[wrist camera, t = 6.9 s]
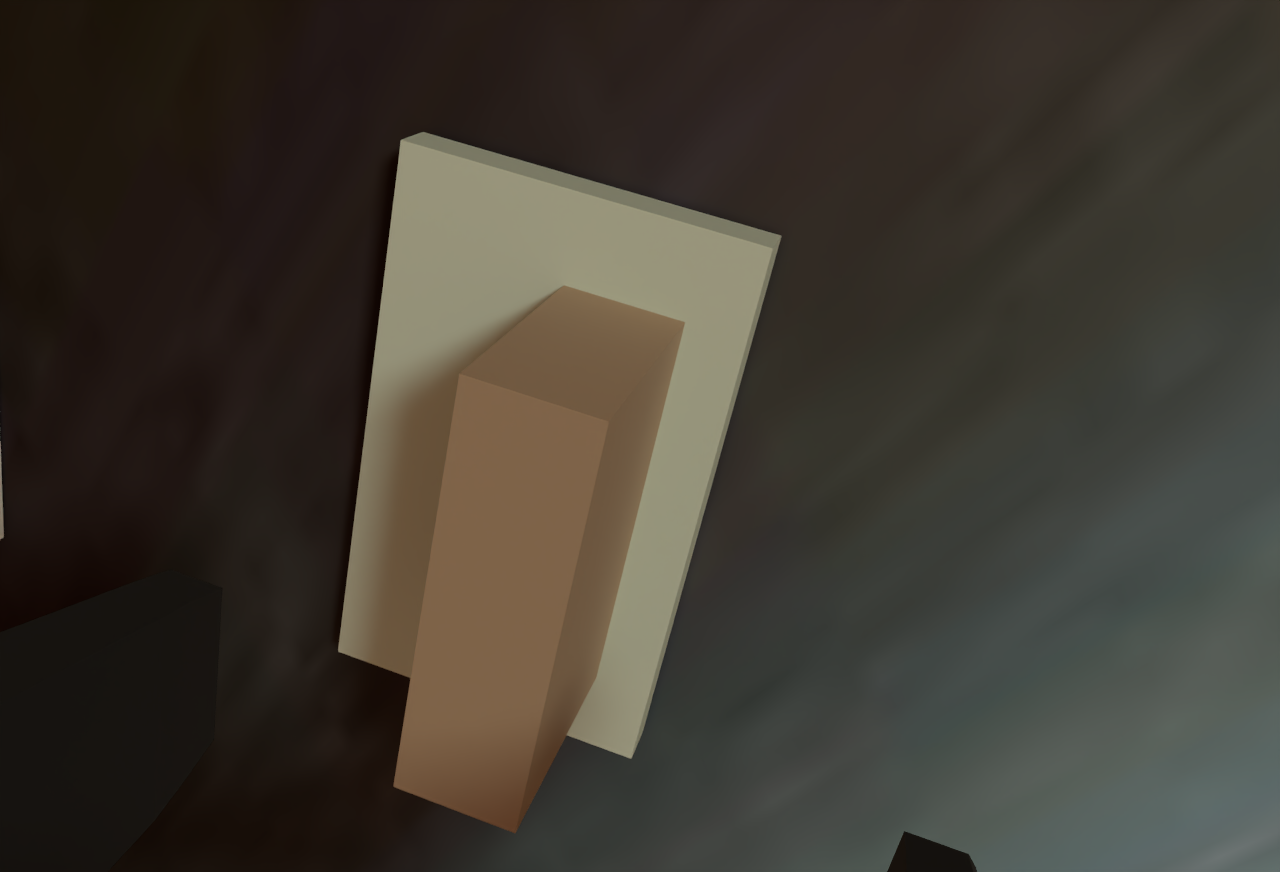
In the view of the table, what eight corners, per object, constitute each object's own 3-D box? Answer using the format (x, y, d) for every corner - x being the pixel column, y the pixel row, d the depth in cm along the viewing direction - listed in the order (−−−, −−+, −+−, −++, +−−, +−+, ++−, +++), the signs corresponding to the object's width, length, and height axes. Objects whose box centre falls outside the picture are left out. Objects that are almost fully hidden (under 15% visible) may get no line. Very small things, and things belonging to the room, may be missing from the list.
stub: (642, 732, 22) (559, 926, 18) (357, 629, 23) (212, 790, 19) (781, 235, 18) (716, 334, 13) (422, 132, 19) (253, 192, 14)
